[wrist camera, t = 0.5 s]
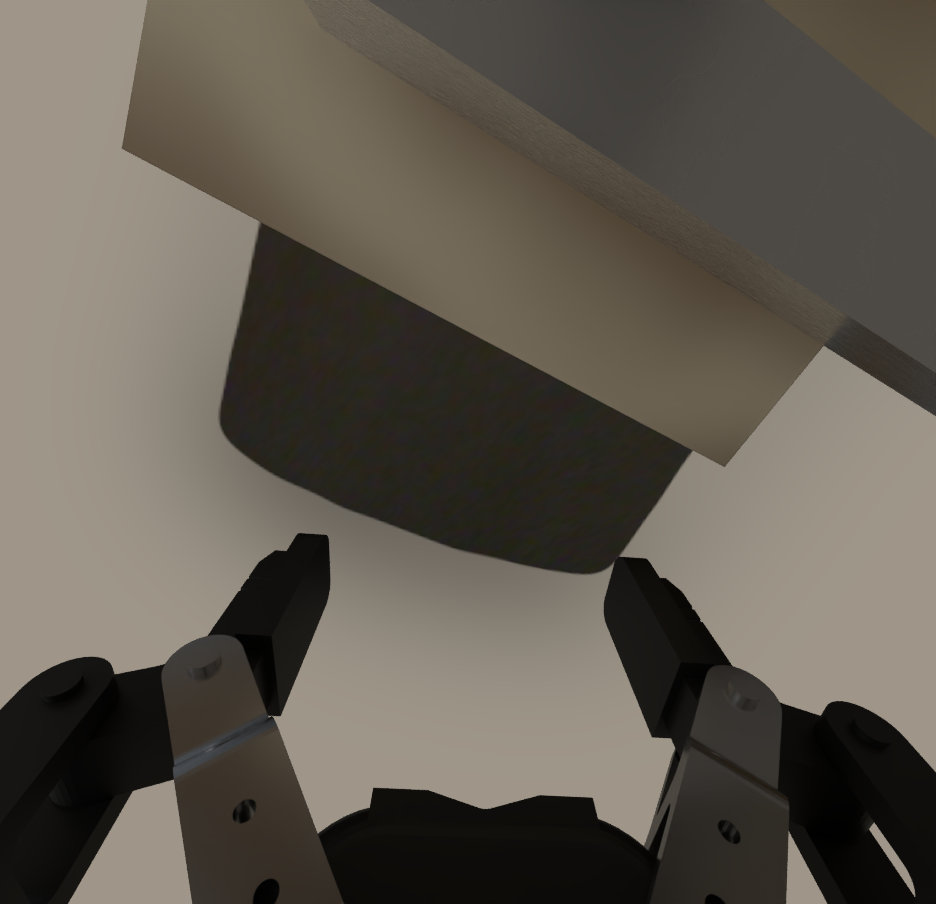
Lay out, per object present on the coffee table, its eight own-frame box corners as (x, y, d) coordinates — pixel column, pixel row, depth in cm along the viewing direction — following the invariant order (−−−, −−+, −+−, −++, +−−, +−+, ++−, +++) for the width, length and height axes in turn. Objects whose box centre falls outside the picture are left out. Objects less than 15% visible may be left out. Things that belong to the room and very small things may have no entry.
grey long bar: (373, -149, 7) (330, -348, 5) (1146, 414, 11) (1327, 453, 9) (320, 28, 8) (263, -69, 6) (1056, 491, 12) (1198, 545, 10)
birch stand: (437, 104, 35) (289, -829, 5) (603, 208, 38) (1109, -5, 8) (379, 251, 39) (113, 198, 9) (533, 335, 42) (701, 495, 12)
